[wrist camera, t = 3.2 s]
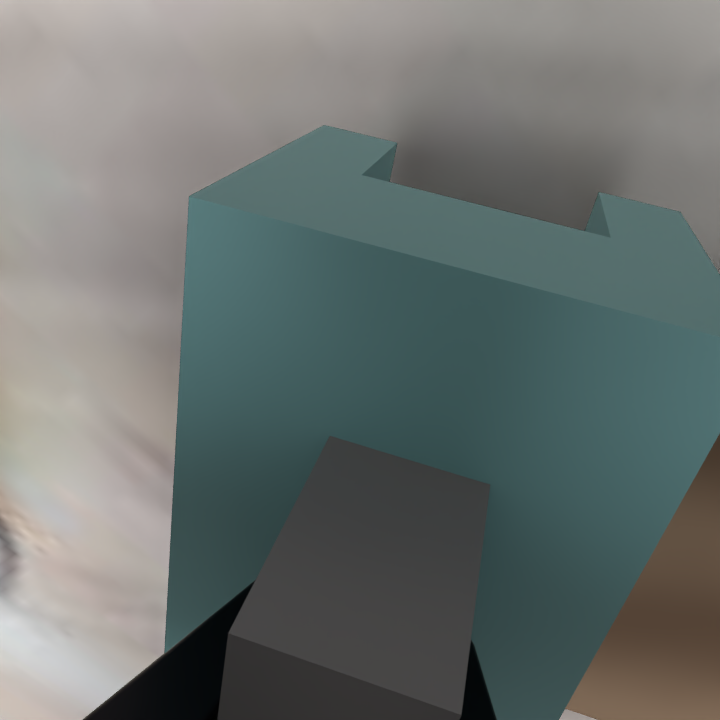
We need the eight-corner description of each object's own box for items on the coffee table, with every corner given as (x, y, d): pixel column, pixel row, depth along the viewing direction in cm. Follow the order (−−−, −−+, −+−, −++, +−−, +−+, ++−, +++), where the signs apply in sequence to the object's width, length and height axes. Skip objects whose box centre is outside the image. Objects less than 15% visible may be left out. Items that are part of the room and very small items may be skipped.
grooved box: (502, 621, 16) (464, 1100, 9) (261, 542, 16) (55, 926, 10) (680, 212, 11) (909, 579, 4) (324, 125, 11) (-14, 303, 5)
